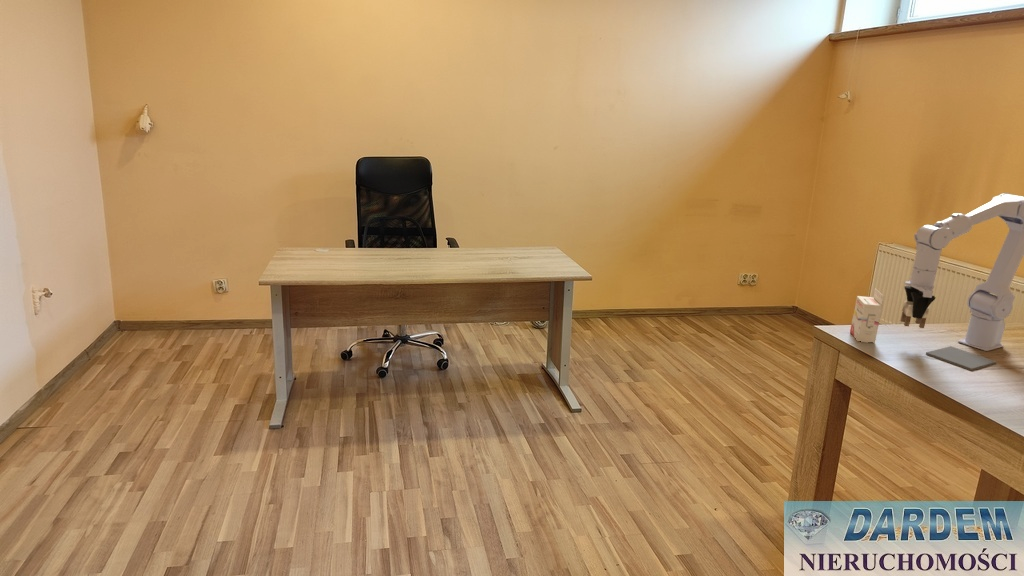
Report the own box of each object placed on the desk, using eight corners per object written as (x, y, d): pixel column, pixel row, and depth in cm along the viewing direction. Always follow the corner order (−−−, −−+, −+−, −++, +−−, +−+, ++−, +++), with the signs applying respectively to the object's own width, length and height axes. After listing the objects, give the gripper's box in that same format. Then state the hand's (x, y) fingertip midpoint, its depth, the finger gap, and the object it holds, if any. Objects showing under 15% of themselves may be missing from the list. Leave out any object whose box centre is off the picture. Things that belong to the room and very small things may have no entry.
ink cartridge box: (848, 331, 196) (857, 285, 192) (866, 333, 195) (875, 287, 191) (857, 341, 188) (867, 293, 184) (875, 343, 187) (885, 295, 183)
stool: (900, 320, 187) (904, 300, 185) (919, 322, 186) (924, 303, 184) (904, 326, 183) (909, 305, 181) (924, 328, 181) (929, 308, 179)
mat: (950, 348, 186) (950, 346, 186) (995, 363, 176) (996, 361, 176) (925, 354, 181) (926, 352, 180) (971, 370, 171) (971, 368, 170)
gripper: (902, 261, 187) (892, 305, 191) (916, 273, 174) (905, 320, 178) (929, 263, 185) (919, 308, 189) (945, 276, 172) (934, 324, 176)
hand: (914, 314), depth 183 cm, fingers closed on stool, 5 cm apart
